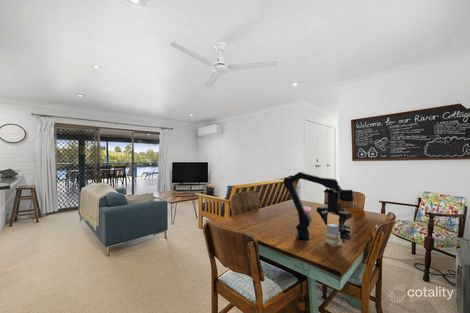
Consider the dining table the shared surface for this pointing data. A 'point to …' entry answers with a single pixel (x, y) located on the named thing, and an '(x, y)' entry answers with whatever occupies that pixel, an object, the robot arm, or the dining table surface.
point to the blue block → (333, 228)
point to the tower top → (333, 236)
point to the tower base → (333, 242)
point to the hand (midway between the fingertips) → (333, 227)
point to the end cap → (344, 232)
